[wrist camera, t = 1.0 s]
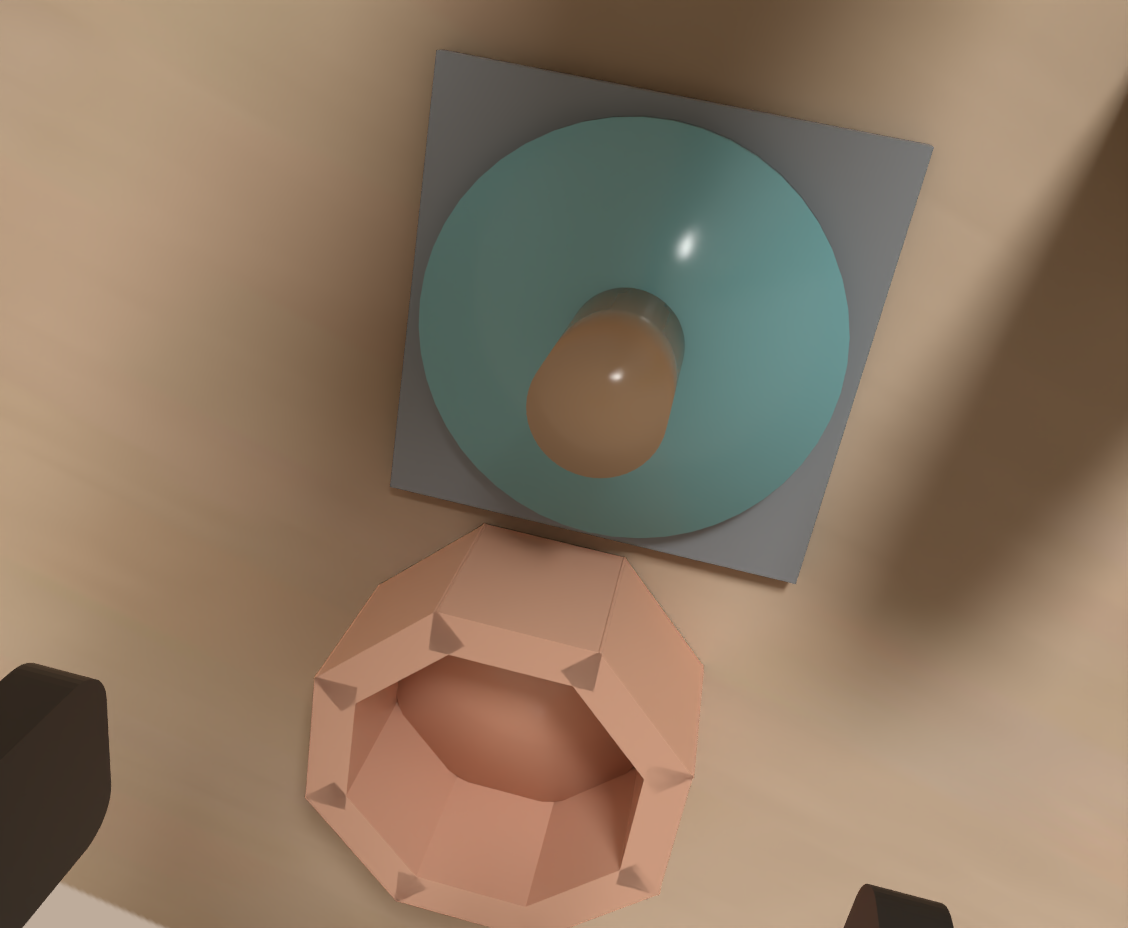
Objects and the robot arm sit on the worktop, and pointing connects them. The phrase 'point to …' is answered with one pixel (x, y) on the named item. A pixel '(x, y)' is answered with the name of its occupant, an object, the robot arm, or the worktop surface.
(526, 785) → the bowl
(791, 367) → the lid
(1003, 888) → the worktop surface
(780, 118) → the mat
